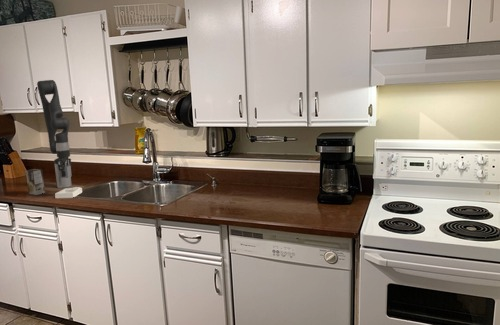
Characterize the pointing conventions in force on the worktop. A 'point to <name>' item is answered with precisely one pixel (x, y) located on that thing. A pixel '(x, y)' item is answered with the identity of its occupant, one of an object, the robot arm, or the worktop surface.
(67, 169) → the plug
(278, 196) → the worktop surface
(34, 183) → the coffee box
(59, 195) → the socket plate
